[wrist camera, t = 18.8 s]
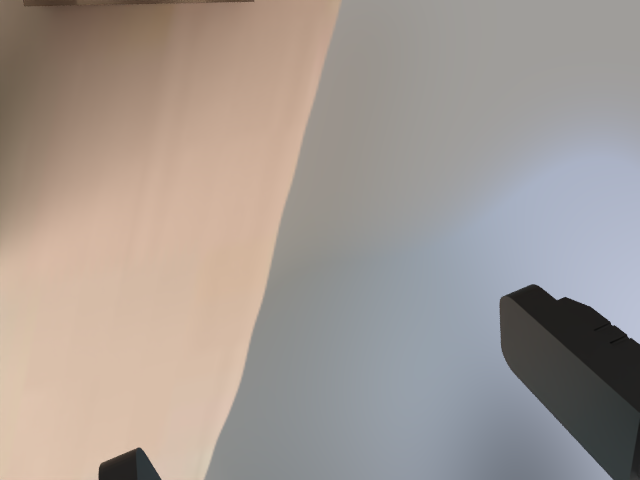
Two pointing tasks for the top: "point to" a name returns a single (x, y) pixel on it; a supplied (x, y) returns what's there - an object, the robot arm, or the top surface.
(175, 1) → the box
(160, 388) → the top surface
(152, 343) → the top surface
